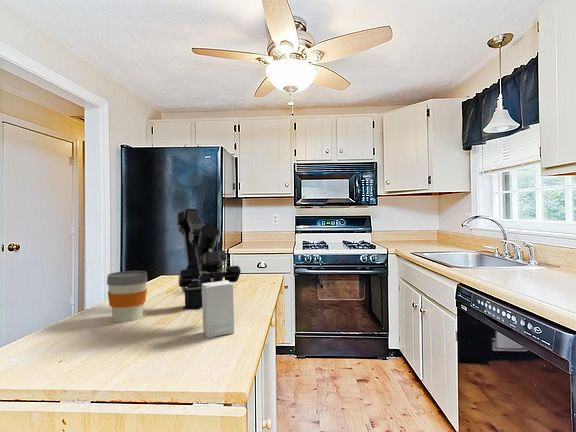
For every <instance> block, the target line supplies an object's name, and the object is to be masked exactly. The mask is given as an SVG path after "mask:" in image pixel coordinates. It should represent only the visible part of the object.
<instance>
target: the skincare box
mask: <svg viewBox="0 0 576 432" xmlns="http://www.w3.org/2000/svg"><path fill="white" fill-rule="evenodd" d="M234 302H235V301H234V283H233V282H229V281H228V280H225V279H224V280H222V281H218V282H210V283H202V308H201V309H202V331H203V334H204V335H205V336H206V338H207V339H209V338H213V337H219V336H220V337H221V336H225V335H230V334H234V333H235V313H234V312H235V311H234V309H235V307H234Z"/></svg>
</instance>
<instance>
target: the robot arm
mask: <svg viewBox="0 0 576 432" xmlns="http://www.w3.org/2000/svg"><path fill="white" fill-rule="evenodd" d="M175 226H177V231H178V232H180V234H181V235H183V243H184V244H183V245H184V250H185V252H184V253H185V259H186V268H185V269H181V270H180V271H179V275H178V286H179V287H180V288H181V291H182V292H183V293H184V306H183V307H182V308H183V309H189V310H190V309H191V310H192V309H193V310H196V309H197V310H199V309H202V283H210V282H211V279H212V280H213V282H218V281H225V280H228V281H229V282H231V283H236V282H238V280H239V279H240V276H241V272H242V271H241V267H240V266H239V265H229V266H226V269H225V270H226V271H225V270H222V271H220V270H221V269H220V267H221V266H220V264H221V263H220V262H221V261H222V262H223V261H224V262H225V260H226V259H227V252H226V250H225V249H223V250H222V249H221V250H219V251H214V248H215V247H216V245H217V241H218V237H219V233H220V230H219V228H217V226H215V225H213V224H211V222H204V223H203V221H202V218H201V217H200V213H199V209H198V208H184V209H183V210H182V211H180V212H178V213H177V214H176V216H175ZM226 261H227V260H226ZM218 269H220V270H219V271H218ZM223 279H224V280H223Z"/></svg>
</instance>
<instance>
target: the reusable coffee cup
mask: <svg viewBox="0 0 576 432" xmlns="http://www.w3.org/2000/svg"><path fill="white" fill-rule="evenodd" d="M148 280H149V279H148V272H147V271H145V270H126V271H123V270H122V271H116V272H112V273H108V274H107V280H106V284H107V286H108V291H107V296H108V297H107V299H108V303H109V306H110V307H111V314H112V321H113V322H115V323H129V322H134V321H137V320H141V319H142V318H143V314H144V306H145V305H144V304H145V303H146V299H147V293H148V291H147V290H148V289H147V282H148Z"/></svg>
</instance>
